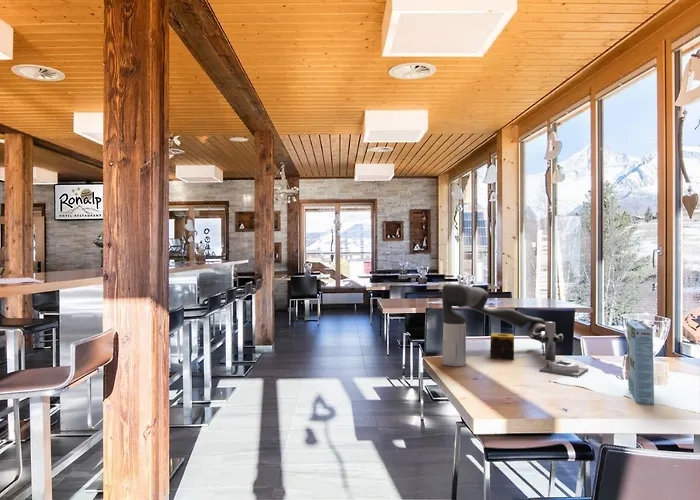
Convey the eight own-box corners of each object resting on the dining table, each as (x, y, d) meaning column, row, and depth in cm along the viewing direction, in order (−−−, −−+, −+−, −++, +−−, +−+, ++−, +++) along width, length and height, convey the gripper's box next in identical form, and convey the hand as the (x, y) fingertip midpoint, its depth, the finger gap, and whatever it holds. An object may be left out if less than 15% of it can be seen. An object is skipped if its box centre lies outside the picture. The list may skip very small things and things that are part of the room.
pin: (553, 361, 197) (553, 323, 197) (543, 360, 199) (543, 322, 200) (556, 359, 200) (556, 322, 200) (546, 358, 202) (546, 321, 203)
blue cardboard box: (654, 405, 142) (653, 329, 142) (634, 403, 144) (634, 328, 144) (644, 389, 159) (643, 321, 160) (626, 387, 161) (626, 320, 162)
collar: (577, 377, 175) (577, 369, 175) (539, 371, 184) (539, 363, 184) (588, 370, 186) (587, 362, 186) (551, 365, 195) (551, 357, 195)
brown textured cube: (490, 358, 207) (489, 336, 208) (490, 354, 217) (490, 332, 217) (514, 360, 204) (514, 337, 205) (513, 355, 214) (513, 333, 214)
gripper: (526, 324, 215) (533, 330, 198) (559, 325, 213) (569, 331, 196) (526, 341, 215) (533, 348, 198) (559, 342, 212) (569, 349, 196)
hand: (551, 339), depth 197 cm, fingers closed on pin, 4 cm apart
